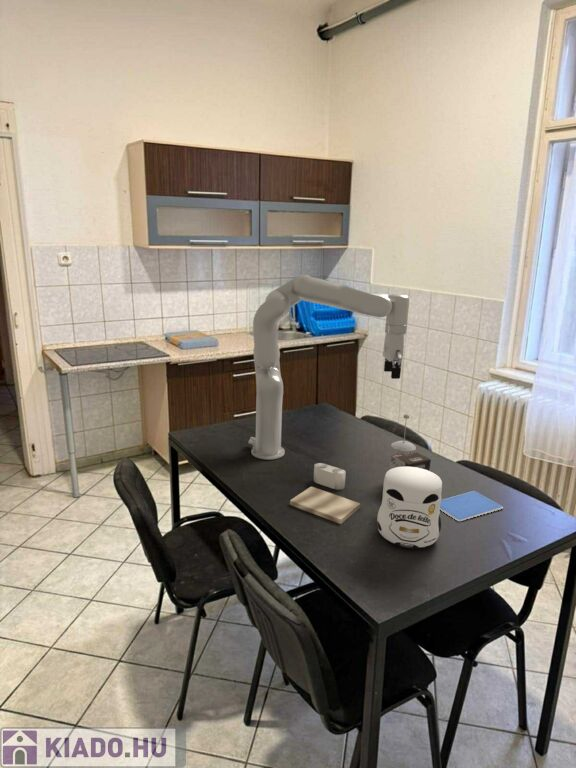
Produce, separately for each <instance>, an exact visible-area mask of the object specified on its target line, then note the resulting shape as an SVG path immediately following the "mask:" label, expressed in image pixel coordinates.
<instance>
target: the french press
mask: <svg viewBox="0 0 576 768" xmlns="http://www.w3.org/2000/svg"><path fill="white" fill-rule="evenodd" d="M403 418H404V419H405V421H407V419H410V415H409V414H408V413H407V414H406V413H405V414H403ZM406 427H407V422H405V425H404V431H406V429H407V428H406ZM405 438H406V432H404V435H403V440H397V441H394V442H392V443H391V448H392V449H393V450H394V451H397V452H399V453H394V454H391V458H390V460H389V470H390V469H392V468H394V467H395V458H396V457H397V456H402V455H408V454H412V452H413V453H416V452H415V451H416V449H417V448H416V445H414V444H413V443H412V442H410V441H406V439H405ZM389 470H388V471H389Z"/></svg>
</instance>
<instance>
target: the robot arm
mask: <svg viewBox="0 0 576 768" xmlns="http://www.w3.org/2000/svg"><path fill="white" fill-rule="evenodd" d="M301 301H304V302H308V303H313V304H319V305H321V306H323V305H324V306H328V307H331V308H334V309H335V308H336V309H339V310H344V311H349V312H354V313H358V314H361V315H366V316H369V317H374V318H385V328H384V329H385V330H384V333H385V337H384V342H383V343H384V344H383V349H382V350H383V352H382V356H383V357H384V364H383V365H384V366H383V371H384V372H385V373H386V372H388V373H391V375H390V378H391V380H392V379H397V380H399V379H401V372H402V361H403V357H404V350H405V349H404V345H405V335H407V329H408V319H409V307H410V297H409V296H408V295H407V294H402V293H391V294H388V293H382V292H367V291H364V290H360V289H356V288H353V287H351V286H349V285H347V284H344V283H340V282H334V281H331V280H326V279H321V278H317V277H313V276H310V275H309V274H299V275H298V276H295V277H294V278H293V279H290V281H288V282H286V283H284V284H282V285H281V286H279V287H278V288H275V289H274V290H272V291H271V292H269V293H268V294H267V296H266V298H265V301H264V302H263V303H262V304H261V305H259V307H258V308H257V310H256V312H255V313H254V316H253V321H252V323H253V324H252V330H253V331H252V332H253V345H254V346H253V364H254V372H255V373H254V374H255V381H256V382H255V384H256V389H255V390H256V397H255V398H256V401H255V403H256V404H255V437H254V436H250V437H249V440H248V444H250V445H252V448H251V451H250V452H251V455H252V456H253V457H255V458H257V459H260V460H277V459H280V458H282V457H283V456H284V455H285V448H283V447H282V419H283V415H282V414H283V399H284V397H283V396H284V382H283V378H282V374H281V365H280V364H281V363H280V358H281V352H280V347H279V338H278V337H279V336H278V324H279V322H280V320H281V319H283V318H284V317H286V316H287V315H288V313H289V312H290V310H291V308H292V307H293V306H295V305H297V304H298V303H300V302H301Z"/></svg>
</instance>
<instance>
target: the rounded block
mask: <svg viewBox="0 0 576 768" xmlns="http://www.w3.org/2000/svg"><path fill="white" fill-rule="evenodd" d="M346 473H347V472H346V470H344V469H342V468H339V467H336V466H332V465H329V464H327V463H323V462H318V463H314V468H313V482H314V483H315V484H319V485H321V486H324V487H328V488H329V489H334V490H337V491H340V490H341V491H342V490H344V489H345V487H346V486H345V484H346Z"/></svg>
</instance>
